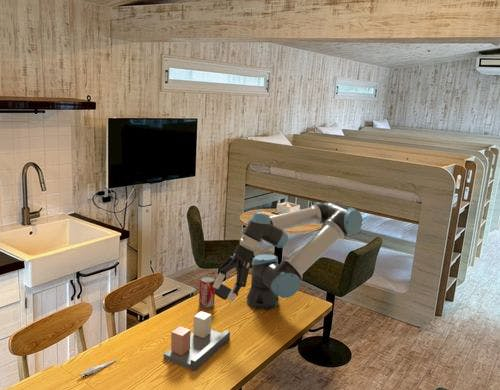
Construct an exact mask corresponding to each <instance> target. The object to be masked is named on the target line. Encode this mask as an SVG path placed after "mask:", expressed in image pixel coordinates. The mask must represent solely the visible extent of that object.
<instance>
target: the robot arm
mask: <svg viewBox="0 0 500 390" xmlns="http://www.w3.org/2000/svg"><path fill="white" fill-rule="evenodd" d="M363 221H364V220H363V215H362V213H361V211H359V210H357V209H356V208H354V207H350V206H348V205H345V204H342V203H341V202H337V201H327V202H320V203H316V204H312V205H310V207H307V208H303V209H298V210H293V211H289V212H285V213H281V214H276V215H270V216H268V215H266V214H265V213H262V212H260V211H255V212H254V214H253V215H252V217H250V218H249V219H248V221H247V224H246V225H247V226H246V229H245V231H244V232H243V235H242V236H241V238H240V240H239V244H237V246H236V247H235V249H234V252H231V253H230V254H229V256H228V257H227V258H226V259H225V260H223V262H222V263H221V264H220V265H219V267H217V269H218V270H219V271H218V272H219V273H218V276H217V277H216V280H214V281H215V283H214V285H213V287H214V288H216V289H219V287H220V285H221V284H223V281H224V279H225V277H226V275H227V273H229V272H230V271H231V270H233V269H236V282H235V283H234V284H233V286H232V288H231V289H232V290H231V292H230V294H229V296H228V297H227V299H226V300H228V301H230V302H234V300H235V298H236V297H237V296H238V295H239V291H240V290H241V288H246V286H247V282H248V276H249V270H250V268H251V281H250V283H251V284H250V288H249V290H248V293H247V295H246V303H247V305H248V306H250V307H251V308H254V309H257V310H270V309H271V310H272V309H275V308H276V307H277V306H278V305H279V301H280V299H279V297H280V298H282V299H283V298H284V299H288V298H291V297H293V296H294V295H296V294H297V292H298V291H299V289H300V287H301V281H302V280H303V274H304V273H305V272H306V271H307V270H308V269H309V268H310V267H311V266H312V265H313V264H314V263H315V262H316V261H318V260H319V259H320V258H321V257H322V256H323V255H324V254H325V253H326V252H327V251H328V250H329V249H330V248H331V247H332V246H333V245H334V244H335V243H336V242H337V241H338V240H344V239H345V238H346V237H347V236H348V235H349V236H355V235H356V234H358V233H359V232H360V230H361V229H362V226H363ZM311 224H314V225H324V226H323V227H322V228H321V229H320V230H319V231H318V232H317V233H316V234H315V235H314V236H313V237H311V239H310V240H308V241H307V242H306V244H304V245H303V246H302V247H300V249H299V250H298V251H296V253H295V254H294V255H293V256H291V258H289V259H283V260H282V262H280V263H278V262H279V260H278V259H279V258H278V256H277V255H275V254H267V253H266V254H258V255H255V256H254V254H255V251H256V250H257V248H258V247H259V245H260V243H261V241H264V242H267V243H268V244H270V245H272V246H274V247H276V248H279V249H281V248H283V247H285V246H286V245H287V243H288V241H289V234H288V233H287V232H286V231H285V230H290V229H293V228H297V227H298V228H299V227H301V226H302V227H303V226H307V225H311ZM253 256H254V257H253ZM251 259H252V262H251V263H250V262H248V260H250V261H251ZM237 294H238V295H237Z"/></svg>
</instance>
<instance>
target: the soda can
mask: <svg viewBox="0 0 500 390" xmlns="http://www.w3.org/2000/svg"><path fill="white" fill-rule="evenodd" d="M215 281H216V280H215V278H214V277H213V276H209V275H206V276H202V277H201V278H200V281H199V290H198V291H199V292H198V294H199V295H198V305H199V306H200V307H202V308H203V309H208V308H209V309H210V308H212V307H213V306H214V305H215V295H216V294H215V288H214V287H213V285H214V283H215Z"/></svg>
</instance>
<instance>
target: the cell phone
mask: <svg viewBox="0 0 500 390" xmlns="http://www.w3.org/2000/svg"><path fill="white" fill-rule="evenodd" d="M231 290H232V288H230V287H228V286H226V285H225V284H223V283H221V285H220V287H219V289H216V288H215V295H217V296H218V297H220V299H221V298H222V299H223V300H228V299H227V297H228V296H229V294H230V292H231ZM238 295H239V293H238V294H237V295H236V296H238Z"/></svg>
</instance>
